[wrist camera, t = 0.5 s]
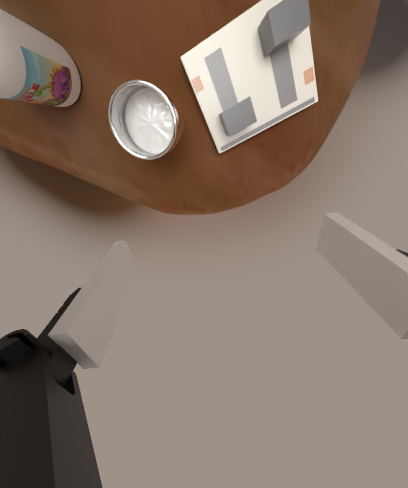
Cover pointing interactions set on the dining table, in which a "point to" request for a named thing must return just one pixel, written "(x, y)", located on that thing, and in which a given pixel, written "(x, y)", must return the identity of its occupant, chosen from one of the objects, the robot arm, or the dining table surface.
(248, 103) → the tab
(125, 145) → the beer glass
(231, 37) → the switch panel
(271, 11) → the tab
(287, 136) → the dining table surface
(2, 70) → the milk bottle
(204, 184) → the dining table surface
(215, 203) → the dining table surface
